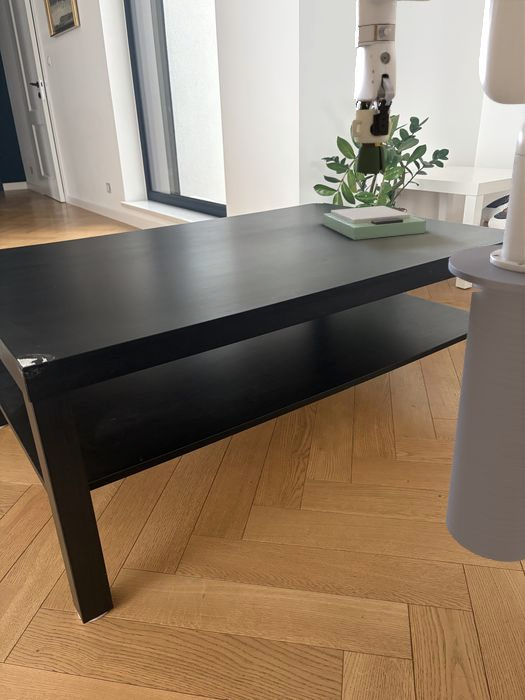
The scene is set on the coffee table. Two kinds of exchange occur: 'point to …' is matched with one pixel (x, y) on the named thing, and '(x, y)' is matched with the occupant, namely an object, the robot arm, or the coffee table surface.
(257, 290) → the coffee table surface
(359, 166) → the character mug
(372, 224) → the scale
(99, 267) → the coffee table surface
